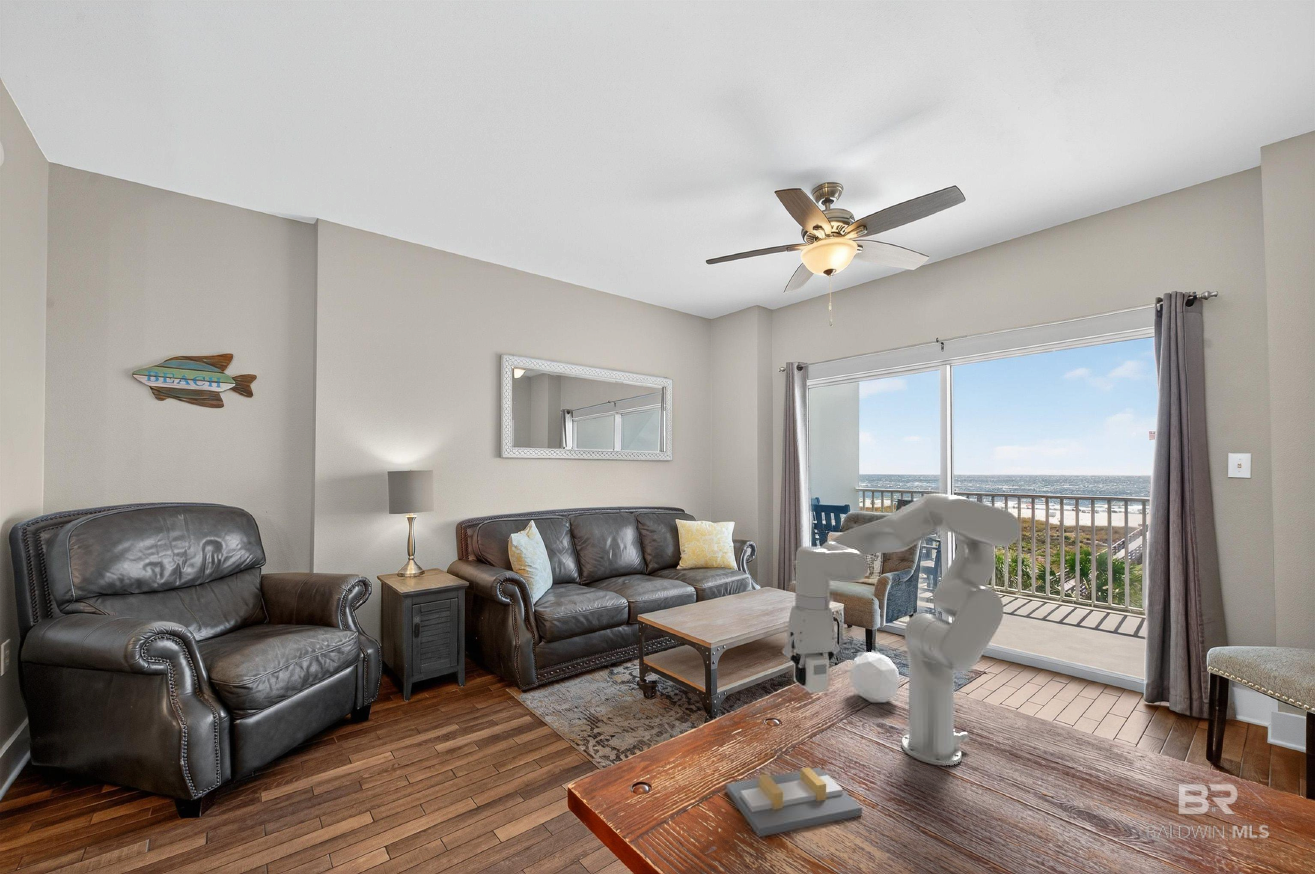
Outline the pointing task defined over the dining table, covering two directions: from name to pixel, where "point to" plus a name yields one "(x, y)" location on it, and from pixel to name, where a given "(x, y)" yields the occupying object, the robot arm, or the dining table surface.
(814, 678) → the block
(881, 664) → the geodesic sphere
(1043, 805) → the dining table surface
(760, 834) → the rail board
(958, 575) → the robot arm
